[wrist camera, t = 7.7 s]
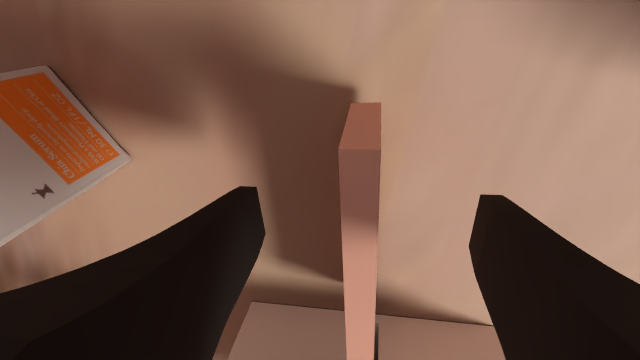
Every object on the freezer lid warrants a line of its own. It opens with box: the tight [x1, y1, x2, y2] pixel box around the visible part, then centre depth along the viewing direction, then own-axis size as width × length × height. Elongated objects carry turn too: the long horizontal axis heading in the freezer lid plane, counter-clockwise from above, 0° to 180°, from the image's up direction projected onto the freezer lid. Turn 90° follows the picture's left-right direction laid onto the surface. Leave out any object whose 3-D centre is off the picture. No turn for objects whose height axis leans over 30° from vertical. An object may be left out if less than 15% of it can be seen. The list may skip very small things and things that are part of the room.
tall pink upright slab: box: [338, 103, 381, 360], centre depth 14 cm, size 1×12×4 cm, turn 4°
